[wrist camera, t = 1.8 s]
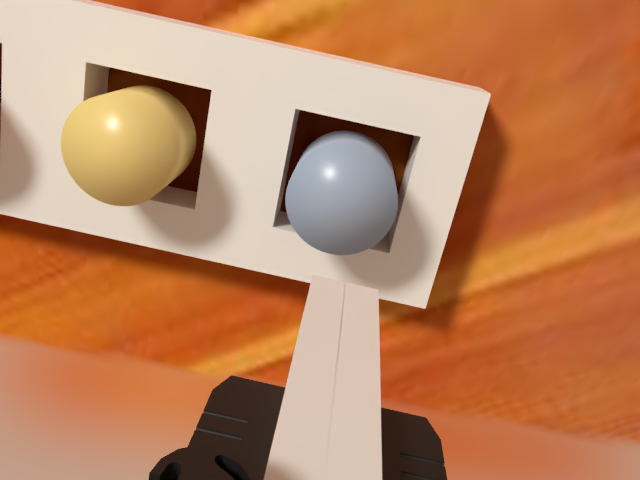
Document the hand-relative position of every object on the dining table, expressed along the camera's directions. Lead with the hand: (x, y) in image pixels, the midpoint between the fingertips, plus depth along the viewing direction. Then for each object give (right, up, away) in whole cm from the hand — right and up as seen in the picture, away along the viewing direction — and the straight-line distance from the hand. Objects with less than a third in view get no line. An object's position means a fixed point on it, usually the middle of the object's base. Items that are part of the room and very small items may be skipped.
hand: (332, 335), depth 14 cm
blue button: (+1, +5, +13) cm, 14 cm away
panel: (-8, +7, +15) cm, 18 cm away
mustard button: (-8, +7, +13) cm, 17 cm away
